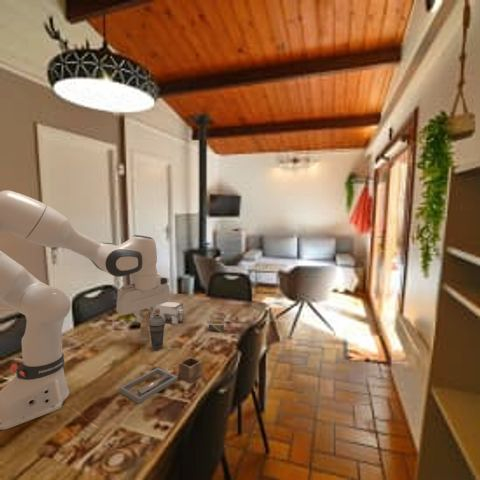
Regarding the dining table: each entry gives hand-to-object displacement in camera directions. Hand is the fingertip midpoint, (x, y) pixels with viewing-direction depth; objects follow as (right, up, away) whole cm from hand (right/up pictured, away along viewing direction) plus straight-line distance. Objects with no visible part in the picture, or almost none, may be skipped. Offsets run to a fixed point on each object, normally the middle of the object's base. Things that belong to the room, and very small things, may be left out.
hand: (144, 319), depth 111 cm
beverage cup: (-4, -21, +32) cm, 39 cm away
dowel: (0, -7, +1) cm, 8 cm away
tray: (+1, -25, +2) cm, 25 cm away
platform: (+21, -20, +53) cm, 60 cm away
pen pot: (+15, -24, +8) cm, 29 cm away
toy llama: (-6, -18, +66) cm, 68 cm away
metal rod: (+3, -24, 0) cm, 24 cm away
